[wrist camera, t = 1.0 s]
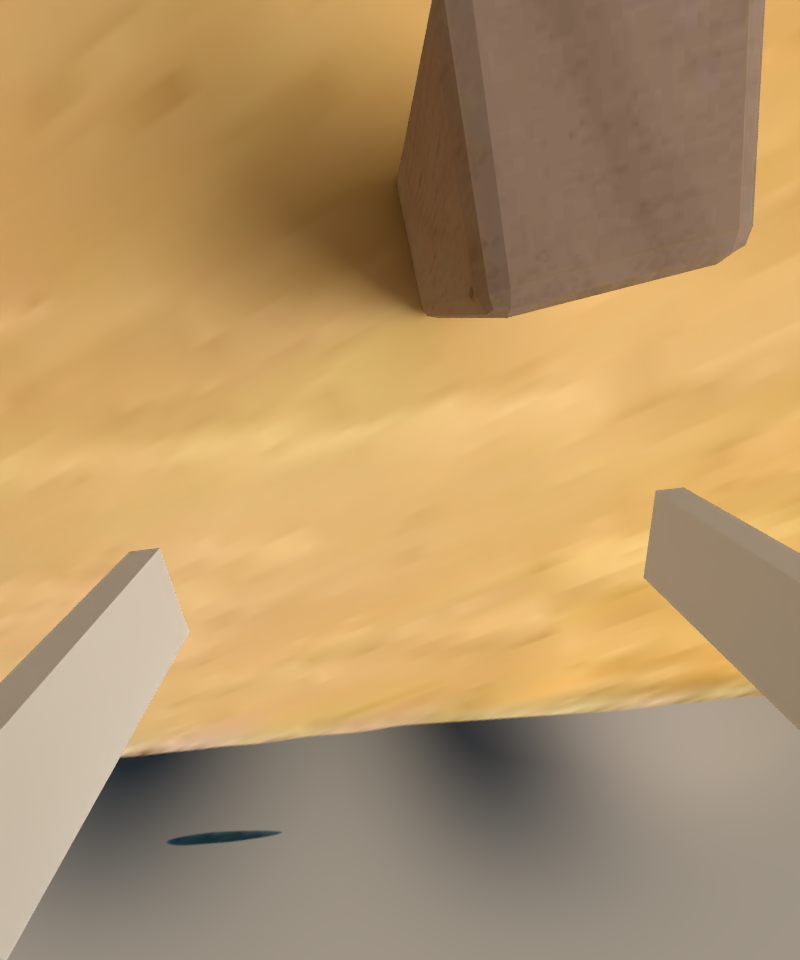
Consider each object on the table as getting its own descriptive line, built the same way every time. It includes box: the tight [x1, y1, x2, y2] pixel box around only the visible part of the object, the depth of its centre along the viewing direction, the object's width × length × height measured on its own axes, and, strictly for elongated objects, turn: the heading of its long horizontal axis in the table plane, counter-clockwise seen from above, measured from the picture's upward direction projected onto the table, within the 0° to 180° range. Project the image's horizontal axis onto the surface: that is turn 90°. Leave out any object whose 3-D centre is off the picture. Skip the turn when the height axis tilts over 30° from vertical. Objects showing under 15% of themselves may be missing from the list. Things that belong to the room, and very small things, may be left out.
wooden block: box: [397, 0, 765, 318], centre depth 23 cm, size 10×10×20 cm
